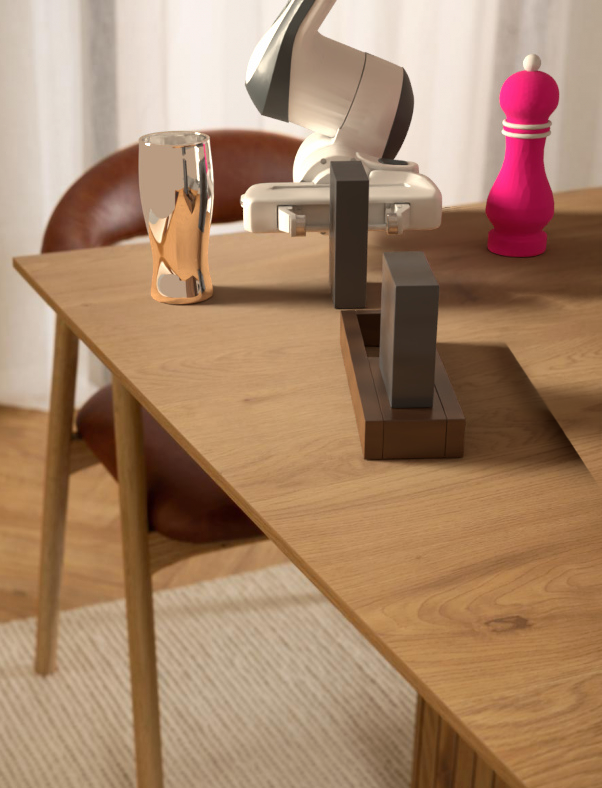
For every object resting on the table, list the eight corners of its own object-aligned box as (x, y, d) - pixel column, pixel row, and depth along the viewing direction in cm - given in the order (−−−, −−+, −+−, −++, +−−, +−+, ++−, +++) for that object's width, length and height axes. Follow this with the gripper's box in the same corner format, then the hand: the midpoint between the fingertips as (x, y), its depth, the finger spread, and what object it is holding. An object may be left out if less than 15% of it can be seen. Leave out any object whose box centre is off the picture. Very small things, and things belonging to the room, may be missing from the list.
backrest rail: (339, 342, 104) (341, 206, 98) (419, 341, 104) (426, 205, 98) (364, 459, 83) (368, 296, 78) (463, 457, 83) (474, 294, 78)
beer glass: (131, 295, 116) (120, 138, 109) (185, 278, 120) (177, 127, 113) (178, 311, 111) (170, 149, 104) (232, 293, 116) (227, 137, 109)
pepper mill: (479, 239, 131) (492, 49, 122) (544, 239, 131) (562, 48, 122) (486, 258, 125) (501, 59, 116) (555, 259, 125) (575, 59, 115)
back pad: (328, 282, 119) (329, 160, 113) (358, 281, 119) (361, 160, 113) (334, 308, 112) (335, 180, 106) (366, 308, 112) (369, 180, 106)
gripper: (239, 165, 125) (238, 197, 113) (431, 161, 126) (452, 193, 113) (240, 224, 128) (240, 261, 116) (429, 220, 129) (448, 257, 116)
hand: (347, 227), depth 115 cm, fingers open, 8 cm apart
